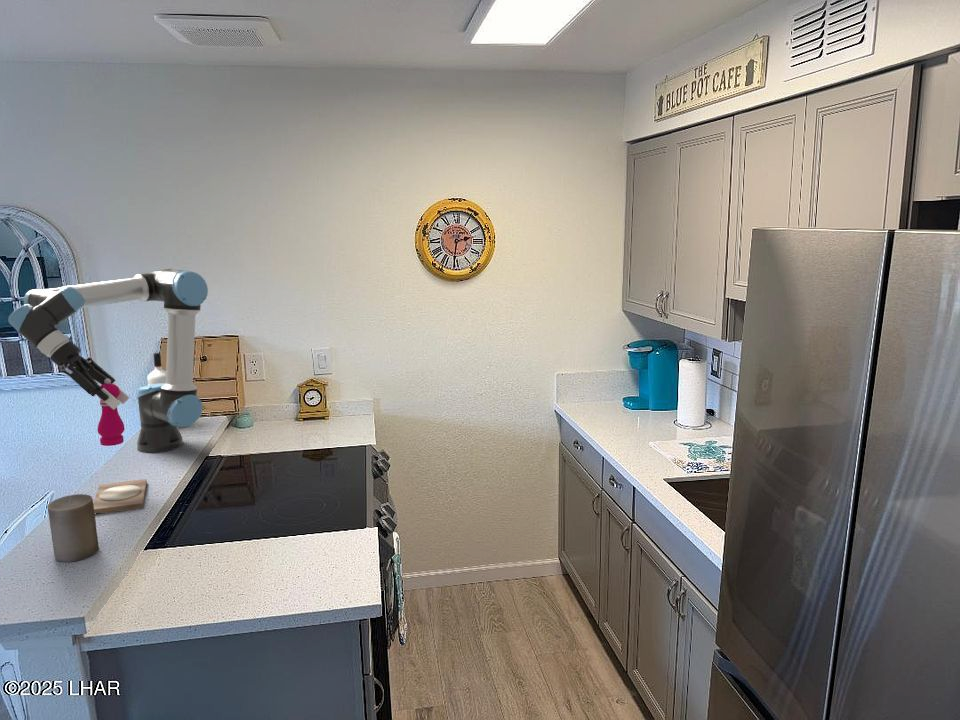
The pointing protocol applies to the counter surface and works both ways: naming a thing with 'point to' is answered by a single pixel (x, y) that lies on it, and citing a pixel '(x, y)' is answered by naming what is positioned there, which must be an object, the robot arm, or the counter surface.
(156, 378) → the vodka
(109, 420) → the pepper mill
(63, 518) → the pillar candle
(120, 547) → the counter surface
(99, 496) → the tan wooden flat board
